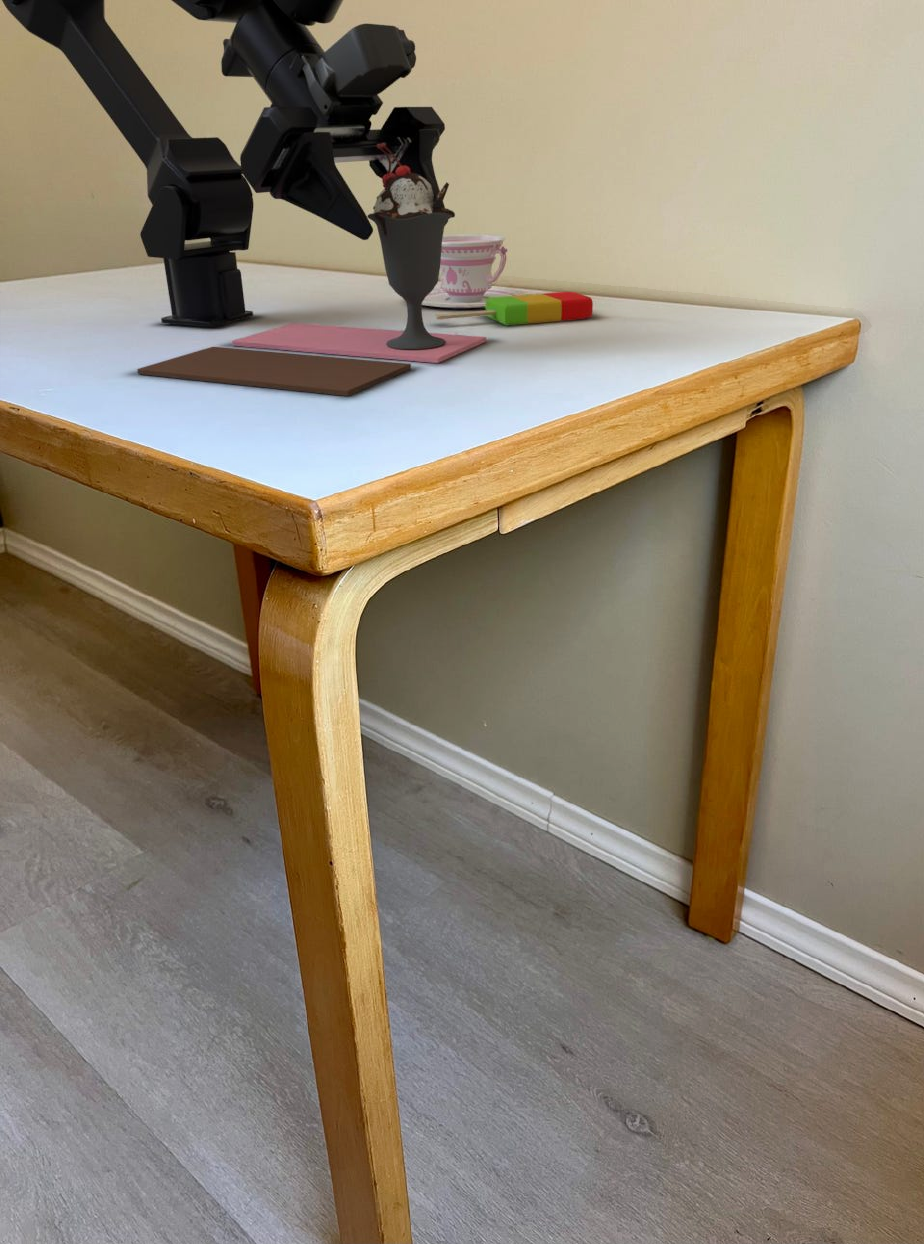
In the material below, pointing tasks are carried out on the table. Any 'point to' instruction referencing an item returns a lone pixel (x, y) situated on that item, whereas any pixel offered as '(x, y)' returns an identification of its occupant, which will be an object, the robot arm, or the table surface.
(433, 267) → the sundae
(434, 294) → the teacup
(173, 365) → the brown mat
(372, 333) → the pink mat
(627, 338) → the table surface
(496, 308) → the popsicle
